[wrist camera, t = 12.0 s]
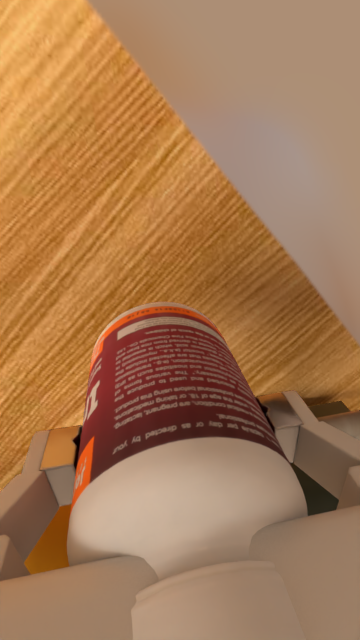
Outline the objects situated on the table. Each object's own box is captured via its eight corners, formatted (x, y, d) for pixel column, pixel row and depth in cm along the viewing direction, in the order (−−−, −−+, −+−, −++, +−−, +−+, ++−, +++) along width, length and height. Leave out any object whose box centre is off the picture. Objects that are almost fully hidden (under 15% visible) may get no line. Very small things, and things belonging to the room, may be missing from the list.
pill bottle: (71, 317, 13) (-55, 740, 4) (211, 281, 14) (427, 589, 4) (115, 419, 16) (107, 796, 7) (229, 388, 17) (375, 708, 7)
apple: (1, 451, 23) (-89, 690, 13) (134, 453, 26) (147, 653, 15) (2, 532, 27) (-66, 762, 17) (116, 526, 30) (117, 723, 19)
